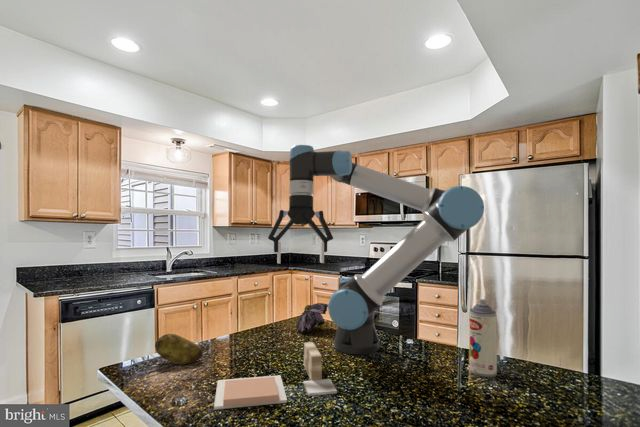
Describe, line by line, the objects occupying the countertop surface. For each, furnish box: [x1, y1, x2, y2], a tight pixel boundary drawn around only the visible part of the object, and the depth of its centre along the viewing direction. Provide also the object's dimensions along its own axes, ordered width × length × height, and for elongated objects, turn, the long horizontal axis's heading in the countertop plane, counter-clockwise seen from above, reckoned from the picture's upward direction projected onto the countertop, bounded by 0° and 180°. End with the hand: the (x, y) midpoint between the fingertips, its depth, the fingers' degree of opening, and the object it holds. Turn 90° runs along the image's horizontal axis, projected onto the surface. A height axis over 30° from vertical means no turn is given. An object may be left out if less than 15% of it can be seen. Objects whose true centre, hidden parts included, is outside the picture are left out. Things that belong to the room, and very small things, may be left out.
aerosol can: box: [468, 298, 498, 378], centre depth 100 cm, size 7×7×20 cm
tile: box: [223, 377, 279, 407], centre depth 84 cm, size 12×2×10 cm
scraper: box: [303, 341, 338, 397], centre depth 95 cm, size 19×7×6 cm, turn 12°
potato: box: [154, 333, 203, 365], centre depth 106 cm, size 8×13×8 cm, turn 75°
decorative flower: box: [296, 302, 329, 334], centre depth 140 cm, size 15×12×15 cm
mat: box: [213, 374, 288, 411], centre depth 87 cm, size 16×14×1 cm
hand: (300, 263), depth 112 cm, fingers open, 13 cm apart
